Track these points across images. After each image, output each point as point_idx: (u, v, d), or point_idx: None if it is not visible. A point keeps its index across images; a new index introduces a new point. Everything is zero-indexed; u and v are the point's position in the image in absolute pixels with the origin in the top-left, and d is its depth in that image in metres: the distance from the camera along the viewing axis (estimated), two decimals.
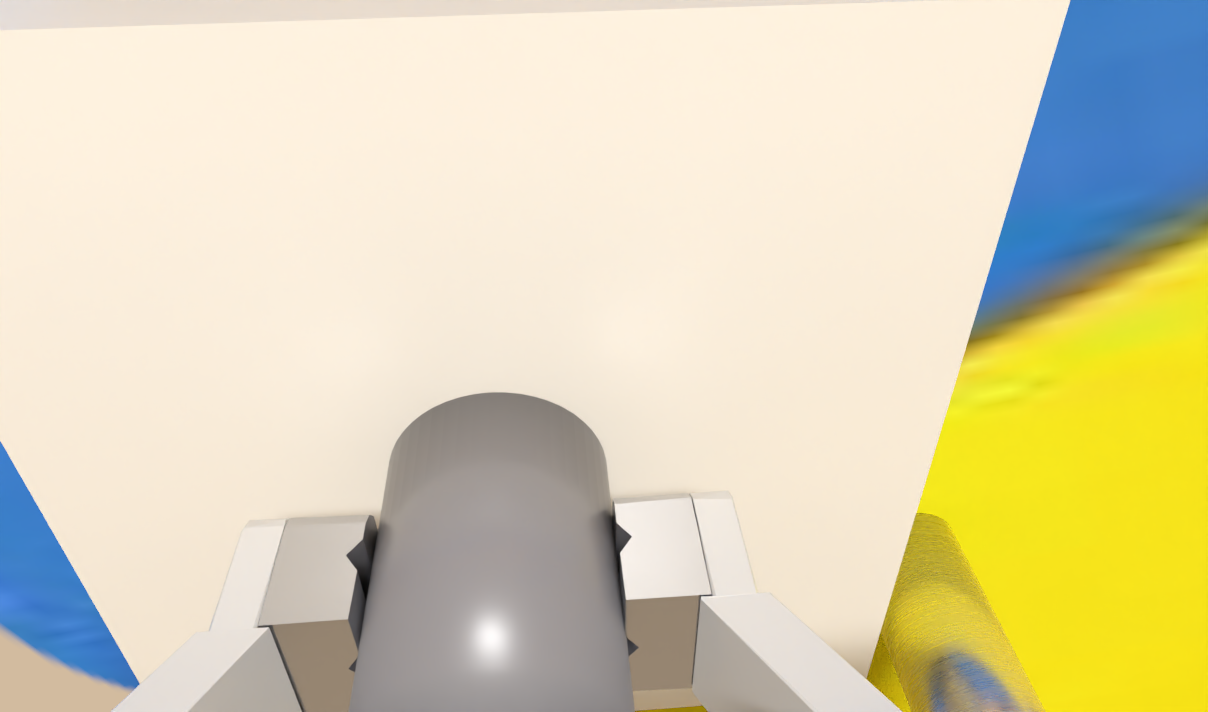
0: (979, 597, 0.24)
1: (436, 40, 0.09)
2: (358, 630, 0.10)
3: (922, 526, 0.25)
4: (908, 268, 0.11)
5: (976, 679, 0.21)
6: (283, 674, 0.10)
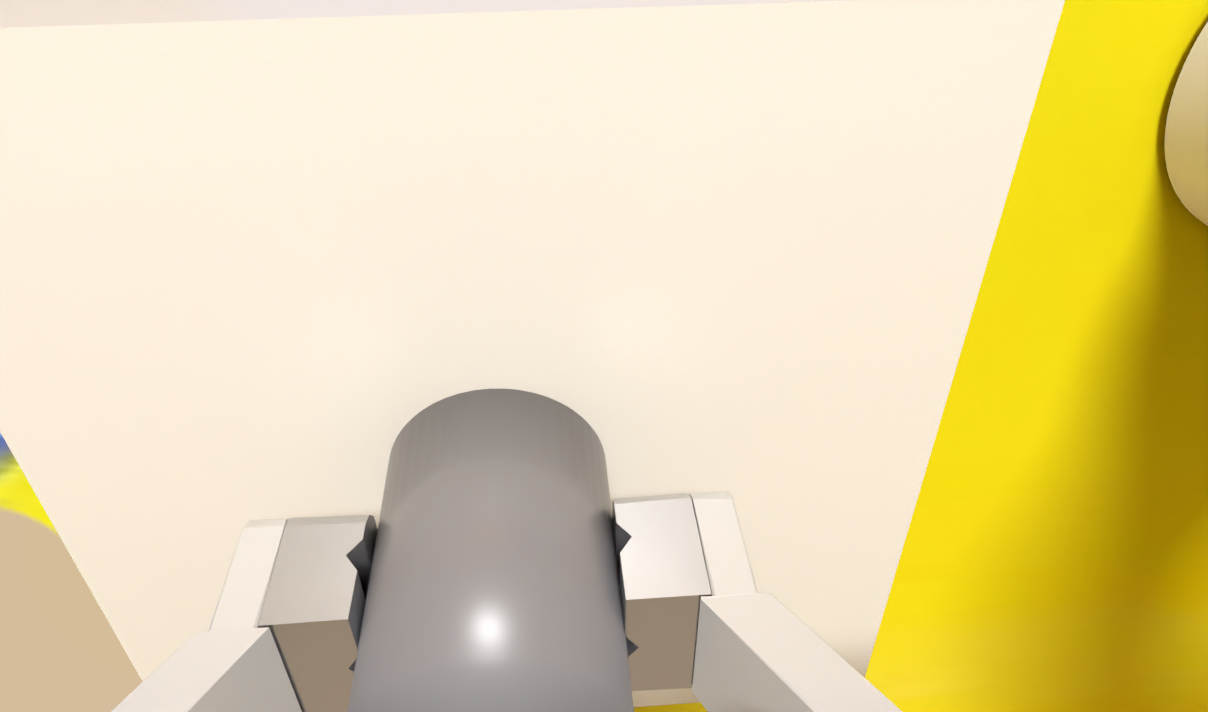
0: None
1: (435, 37, 0.09)
2: (358, 630, 0.10)
3: None
4: (905, 264, 0.11)
5: None
6: (283, 674, 0.10)
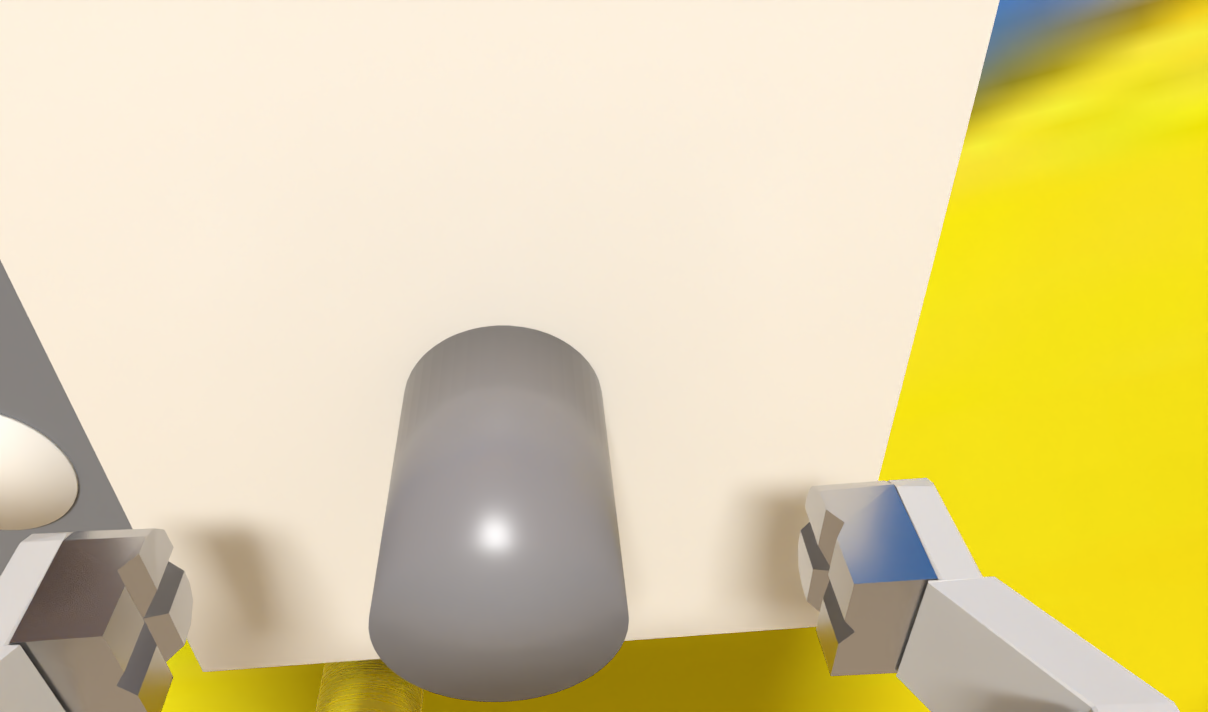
0: (391, 692, 0.25)
1: None
2: (123, 646, 0.10)
3: None
4: (872, 209, 0.12)
5: None
6: (46, 691, 0.10)
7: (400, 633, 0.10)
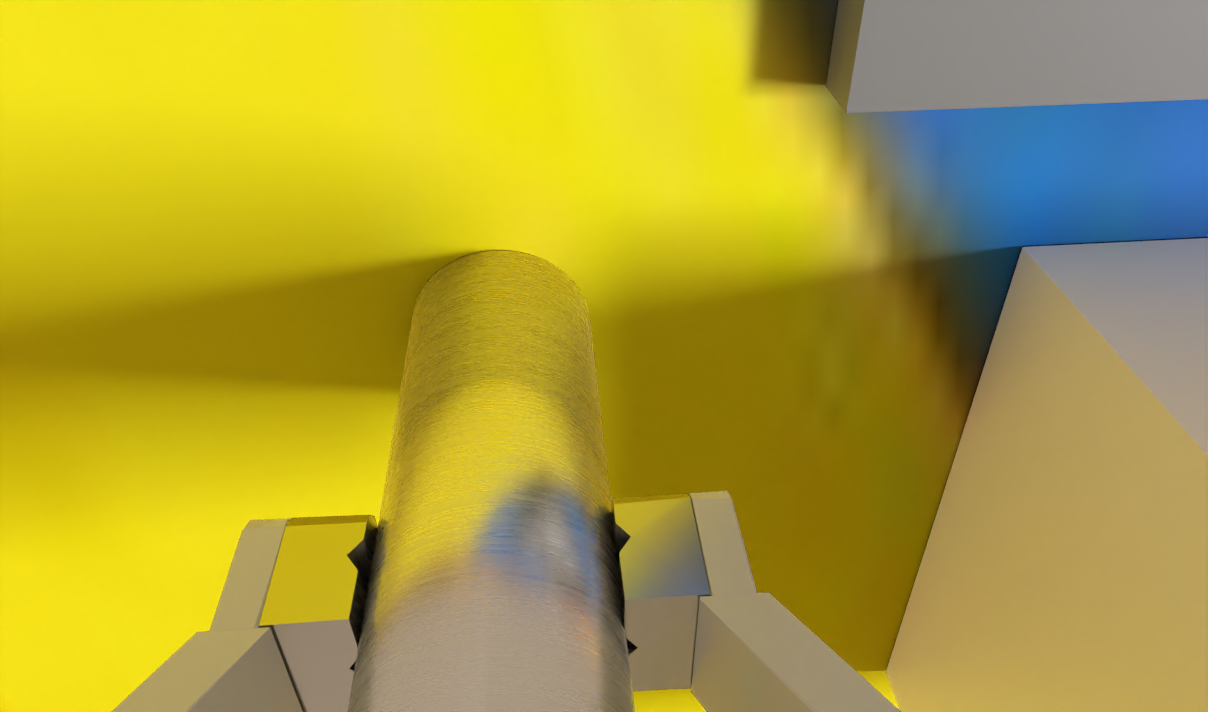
0: None
1: None
2: (359, 630, 0.10)
3: None
4: None
5: None
6: (284, 674, 0.10)
7: None
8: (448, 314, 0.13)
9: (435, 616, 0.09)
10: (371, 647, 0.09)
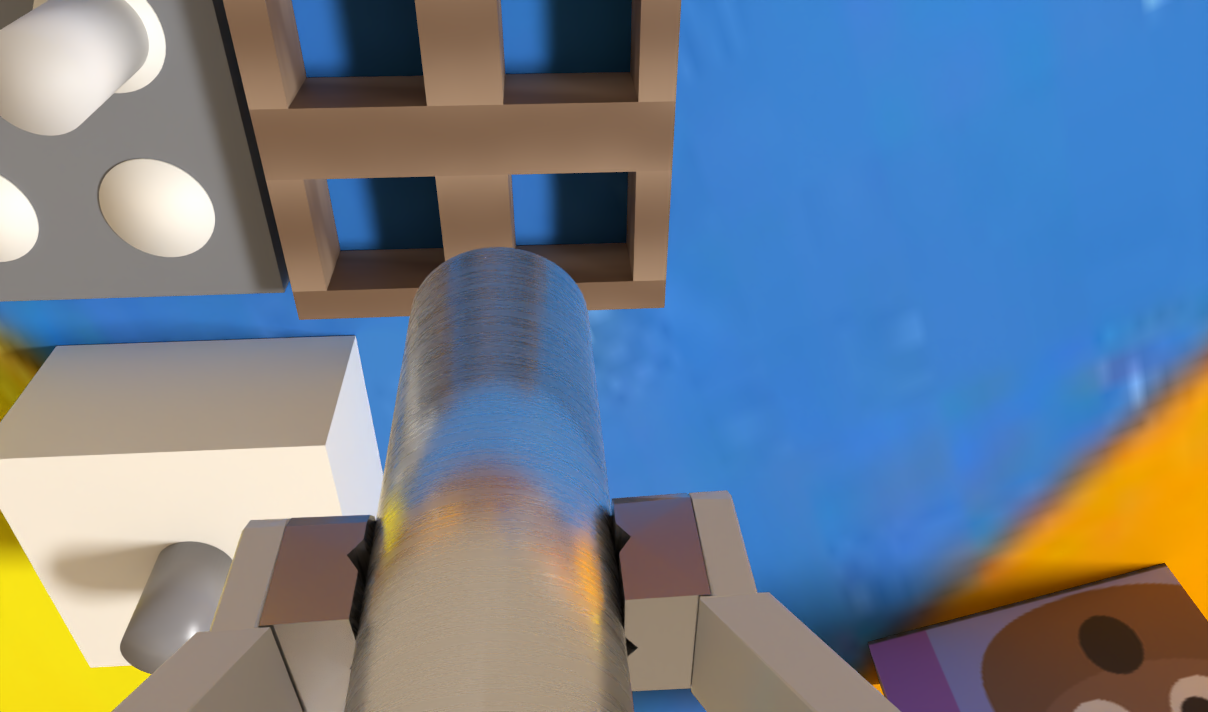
0: None
1: None
2: None
3: None
4: None
5: (614, 550, 0.11)
6: (284, 674, 0.10)
7: (156, 632, 0.32)
8: (445, 310, 0.13)
9: (433, 609, 0.09)
10: (369, 642, 0.09)
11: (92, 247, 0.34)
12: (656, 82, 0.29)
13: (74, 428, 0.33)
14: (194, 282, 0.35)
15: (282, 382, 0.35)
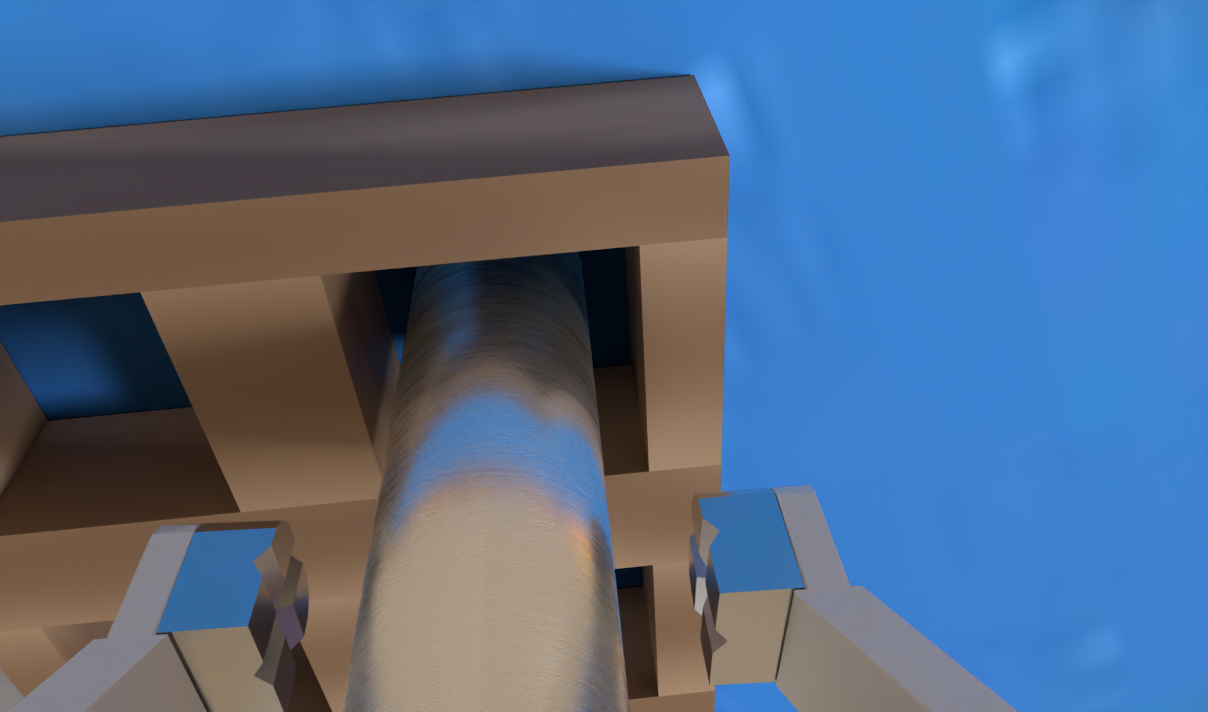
0: None
1: None
2: (262, 637, 0.10)
3: None
4: None
5: (602, 466, 0.12)
6: (186, 681, 0.10)
7: None
8: None
9: (439, 504, 0.10)
10: (382, 534, 0.10)
11: None
12: (682, 440, 0.15)
13: None
14: None
15: None
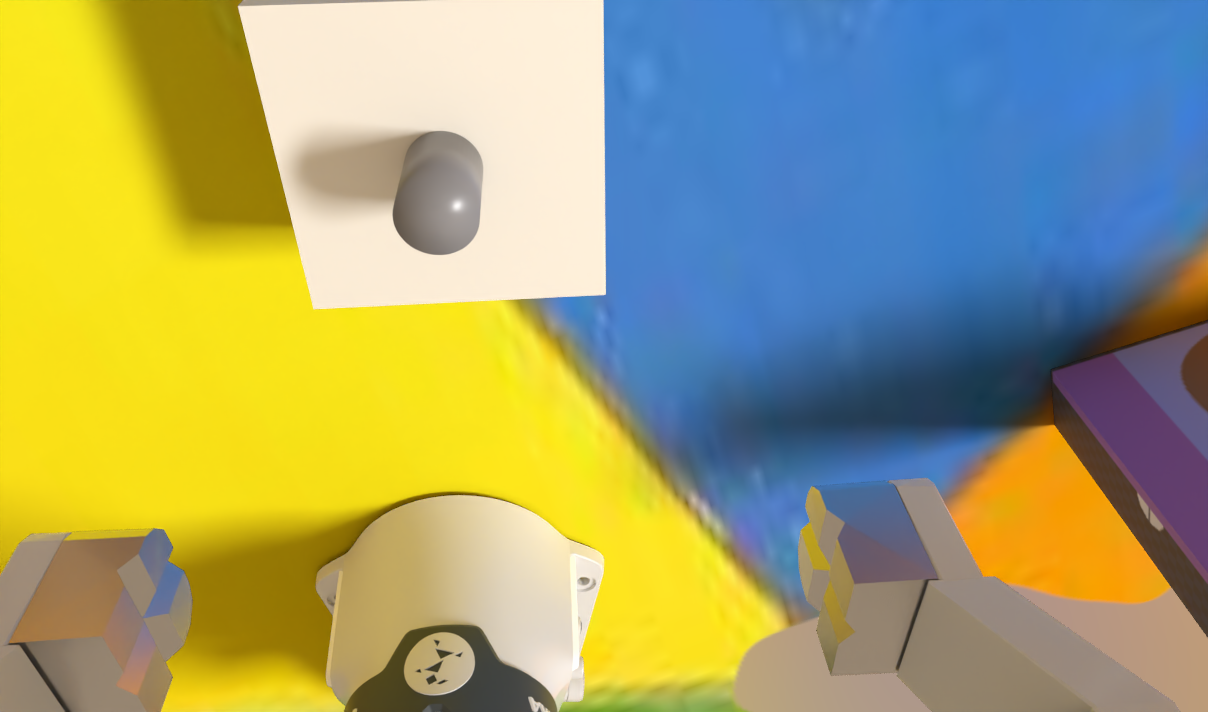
0: None
1: (598, 158, 0.34)
2: (123, 647, 0.10)
3: None
4: (531, 278, 0.37)
5: None
6: (45, 691, 0.10)
7: (433, 187, 0.30)
8: None
9: None
10: None
11: None
12: None
13: None
14: None
15: None
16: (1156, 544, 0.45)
